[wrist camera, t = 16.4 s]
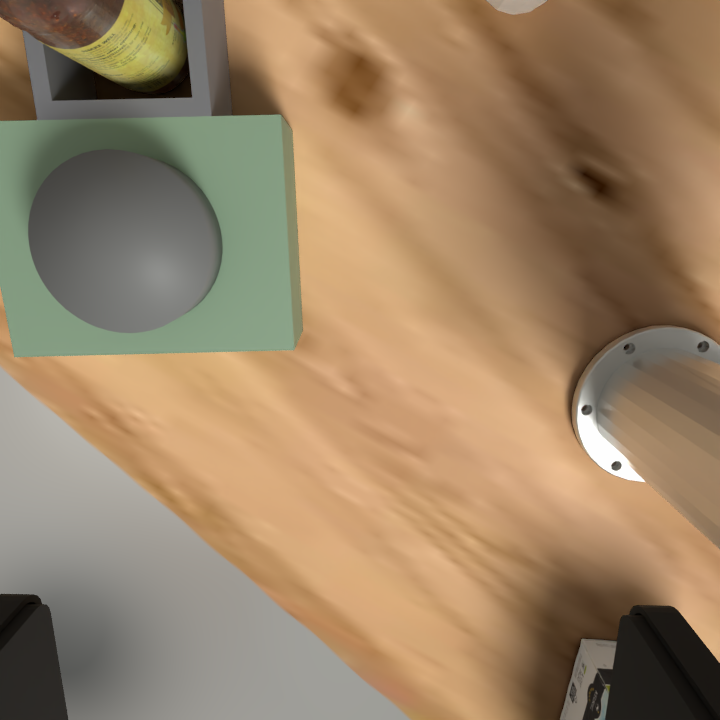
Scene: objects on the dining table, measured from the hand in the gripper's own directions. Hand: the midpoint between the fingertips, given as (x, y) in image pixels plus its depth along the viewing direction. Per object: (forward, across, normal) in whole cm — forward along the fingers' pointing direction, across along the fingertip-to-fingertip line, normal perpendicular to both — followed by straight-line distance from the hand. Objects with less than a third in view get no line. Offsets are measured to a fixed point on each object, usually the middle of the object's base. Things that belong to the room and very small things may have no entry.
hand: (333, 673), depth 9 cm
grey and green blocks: (+32, +14, -11) cm, 37 cm away
